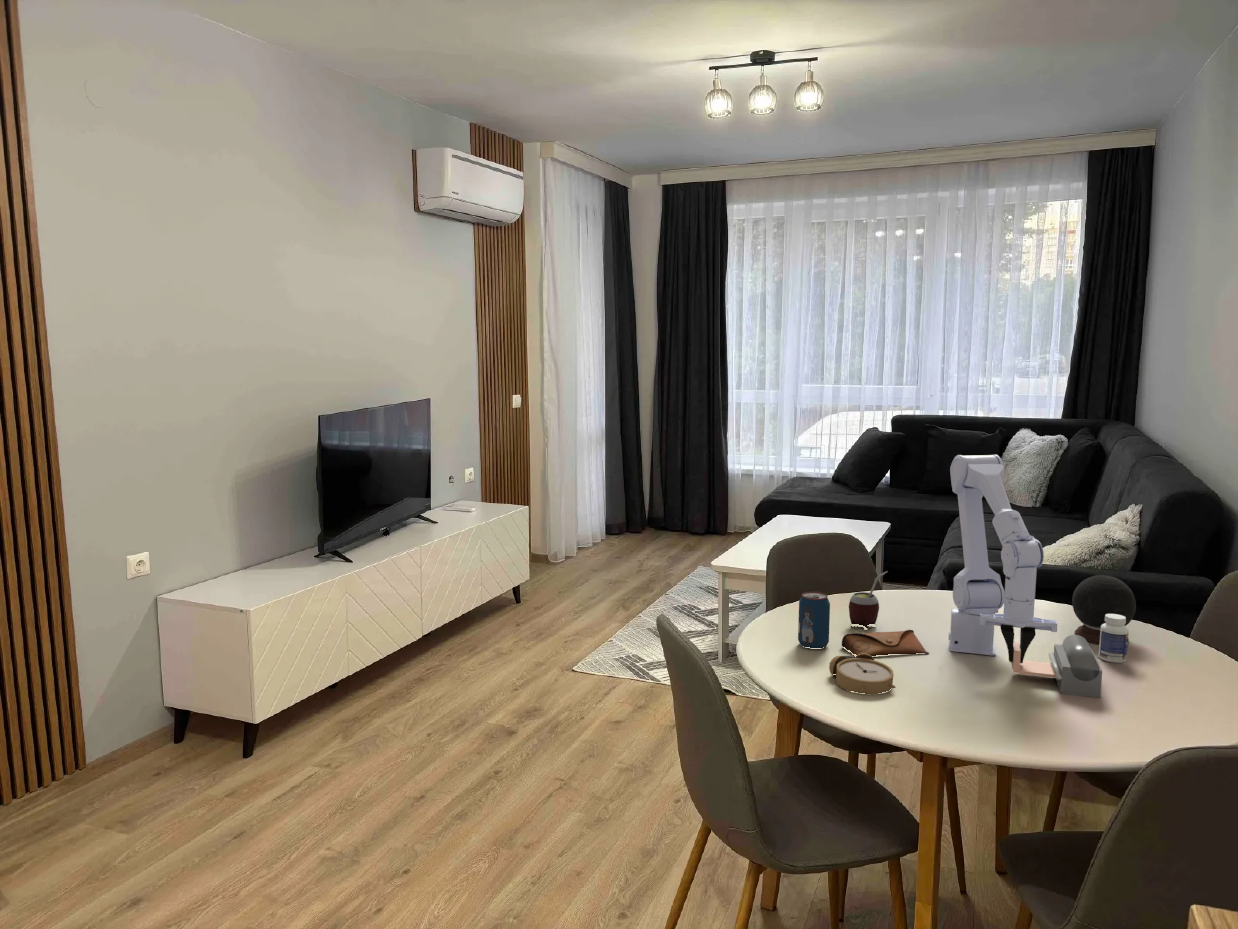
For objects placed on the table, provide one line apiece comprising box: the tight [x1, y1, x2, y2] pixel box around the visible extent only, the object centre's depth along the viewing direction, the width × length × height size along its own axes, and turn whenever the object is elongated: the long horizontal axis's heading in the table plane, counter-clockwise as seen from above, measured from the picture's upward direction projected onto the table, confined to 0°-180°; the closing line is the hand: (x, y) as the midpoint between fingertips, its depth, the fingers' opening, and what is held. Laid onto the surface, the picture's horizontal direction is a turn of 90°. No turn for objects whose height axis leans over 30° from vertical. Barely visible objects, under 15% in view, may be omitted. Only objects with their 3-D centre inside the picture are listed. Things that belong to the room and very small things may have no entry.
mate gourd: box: [848, 570, 889, 628], centre depth 218 cm, size 8×8×15 cm
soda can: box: [797, 591, 831, 648], centre depth 205 cm, size 7×7×12 cm
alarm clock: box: [828, 653, 897, 694], centre depth 184 cm, size 11×5×15 cm
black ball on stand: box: [1071, 574, 1137, 646], centre depth 209 cm, size 13×13×15 cm
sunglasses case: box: [841, 629, 929, 656], centre depth 202 cm, size 18×7×7 cm, turn 102°
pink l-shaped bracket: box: [1010, 641, 1056, 679], centre depth 184 cm, size 14×7×5 cm, turn 70°
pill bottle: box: [1098, 614, 1130, 664], centre depth 196 cm, size 5×5×10 cm
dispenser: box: [1048, 634, 1103, 699], centre depth 182 cm, size 8×14×8 cm, turn 160°
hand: (1015, 661), depth 186 cm, fingers closed on pink l-shaped bracket
